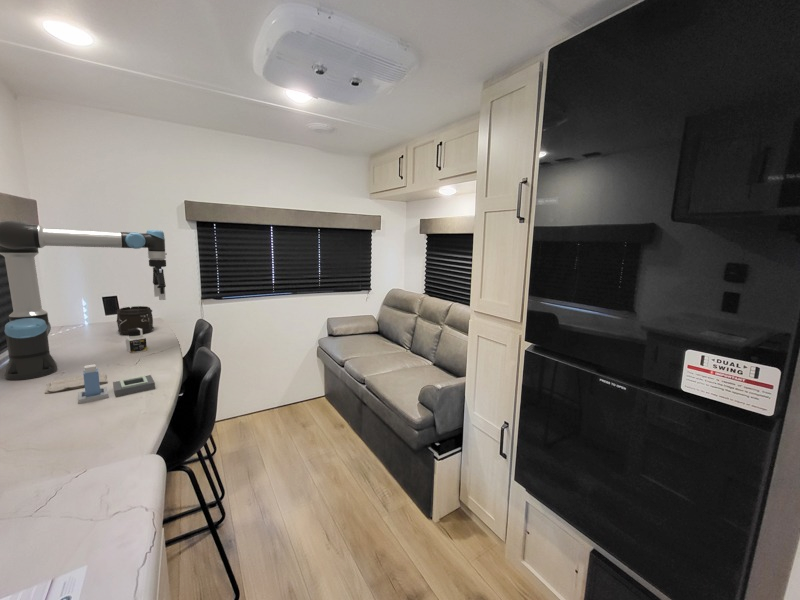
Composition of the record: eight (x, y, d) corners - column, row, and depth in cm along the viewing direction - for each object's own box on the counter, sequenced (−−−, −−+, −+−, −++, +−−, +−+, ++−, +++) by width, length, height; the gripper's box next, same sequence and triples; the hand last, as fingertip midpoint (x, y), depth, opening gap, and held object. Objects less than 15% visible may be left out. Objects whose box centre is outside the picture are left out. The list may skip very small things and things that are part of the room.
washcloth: (47, 388, 131) (46, 380, 130) (107, 377, 143) (106, 370, 143) (44, 399, 122) (43, 391, 122) (108, 386, 135) (107, 379, 134)
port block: (116, 399, 123) (115, 389, 123) (113, 390, 130) (112, 380, 130) (155, 390, 132) (154, 381, 131) (151, 382, 139) (150, 373, 138)
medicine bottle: (130, 353, 172) (128, 331, 171) (126, 350, 177) (124, 328, 175) (147, 350, 178) (145, 328, 176) (142, 347, 182) (141, 326, 180)
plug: (86, 400, 120) (82, 368, 118) (85, 396, 123) (82, 365, 121) (101, 397, 123) (97, 366, 121) (100, 393, 125) (97, 363, 124)
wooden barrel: (125, 329, 216) (123, 305, 214) (157, 328, 221) (156, 305, 219) (111, 336, 199) (108, 311, 197) (146, 335, 205) (144, 310, 202)
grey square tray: (78, 406, 117) (78, 399, 117) (78, 398, 123) (77, 392, 122) (108, 399, 123) (108, 393, 122) (107, 392, 128) (106, 386, 128)
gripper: (170, 260, 172) (173, 300, 175) (161, 258, 189) (163, 294, 192) (152, 260, 166) (155, 301, 170) (144, 257, 184) (147, 295, 187)
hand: (159, 298), depth 181 cm, fingers open, 13 cm apart
